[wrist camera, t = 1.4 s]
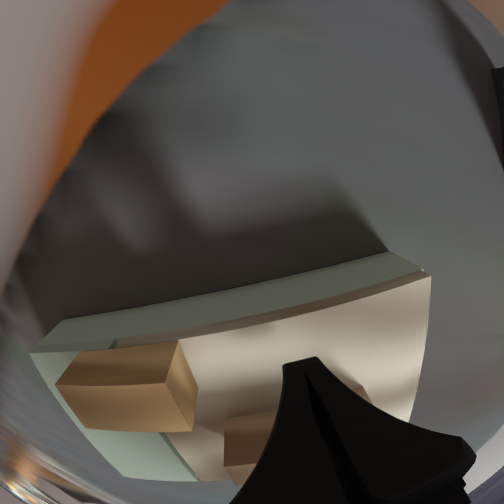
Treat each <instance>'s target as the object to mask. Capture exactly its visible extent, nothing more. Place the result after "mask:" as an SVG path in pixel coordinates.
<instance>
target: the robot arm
mask: <svg viewBox="0 0 504 504" xmlns="http://www.w3.org/2000/svg"><path fill="white" fill-rule="evenodd" d="M282 371H283V380H282V390H281V396H280V402H279V407H278V411H277V414H276V418H275V422H274V425H273V428H272V431H271V433H270V436H269V439H268V441H267V444H266V446H265V448H264V450H263V452H262V454H261V456H260V458H259V460H258V462H257V464H256V466H255V468H254V469H253V471H252V473H251V474H250V476H249V477H248V479H247V480H246V482H245V484H244V485H243V487H242V488H241V489H240V491H239V492H238V493H237V495H236V496H235V497H234V498H233V500H232V501H231V502H230V503H229V504H504V466H503V467H502V468H501V469H500V470H498V471H497V472H496V473H495V474H494V475H493V476H491V477H490V478H489V479H488V480H486V481H485V482H484V483H482V484H481V485H480V486H479V487H477V488H476V489H474V490H473V491H472V492H470V493H469V494H467V493H466V492H465V490H464V487H465V486H466V483H465V482H464V480H463V476H464V475H465V474H466V473H467V472H468V470H469V469H470V468H471V467H472V465H473V464H474V462H475V460H476V454H475V453H474V451H473V450H472V448H471V447H470V446H469V445H468V444H467V443H466V442H465V441H464V440H463V439H462V437H459V436H453V435H448V434H443V433H438V432H434V431H431V430H427V429H424V428H421V427H418V426H415V425H413V424H410V423H408V422H405V421H403V420H401V419H398V418H396V417H394V416H392V415H390V414H388V413H386V412H384V411H383V410H381V409H379V408H377V407H376V406H374V405H372V404H371V403H369V402H368V401H366V400H365V399H363V398H362V397H361V396H359V395H358V394H357V393H355V392H354V391H353V390H351V389H350V388H349V387H348V386H347V385H345V384H344V383H343V382H342V381H341V380H339V379H338V378H337V377H336V376H335V375H334V374H333V373H332V372H331V371H330V370H329V369H328V368H327V367H326V366H325V365H324V364H323V363H322V361H321V360H320V359H319V358H318V357H316V356H313V357H310V358H306V359H302V360H298V361H294V362H289V363H285V364H284V365H283V366H282Z"/></svg>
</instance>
